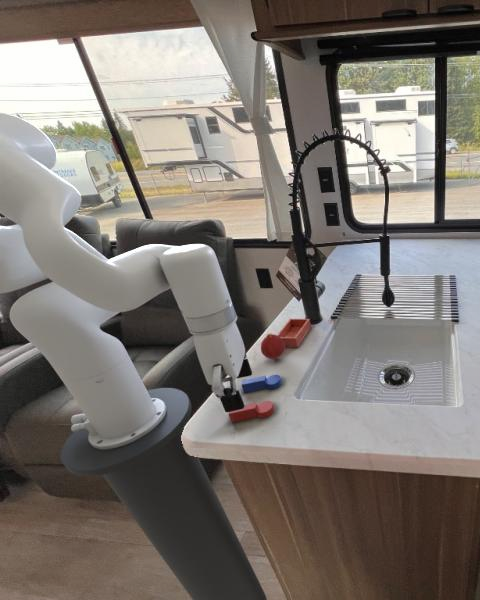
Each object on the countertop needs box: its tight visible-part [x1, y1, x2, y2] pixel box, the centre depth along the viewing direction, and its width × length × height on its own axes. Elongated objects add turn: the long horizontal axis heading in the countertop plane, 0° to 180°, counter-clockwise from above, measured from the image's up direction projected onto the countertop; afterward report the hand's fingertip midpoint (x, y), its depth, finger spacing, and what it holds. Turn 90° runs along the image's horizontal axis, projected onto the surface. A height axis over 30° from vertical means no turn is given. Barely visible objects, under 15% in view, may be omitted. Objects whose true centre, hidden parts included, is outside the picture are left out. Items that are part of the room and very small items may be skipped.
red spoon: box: [228, 400, 275, 423], centre depth 64 cm, size 8×3×2 cm, turn 106°
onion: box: [260, 332, 286, 360], centre depth 80 cm, size 6×6×8 cm
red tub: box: [276, 318, 312, 348], centre depth 90 cm, size 11×6×3 cm, turn 175°
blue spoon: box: [241, 374, 283, 394], centre depth 72 cm, size 8×3×2 cm, turn 106°
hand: (240, 391), depth 61 cm, fingers open, 9 cm apart
